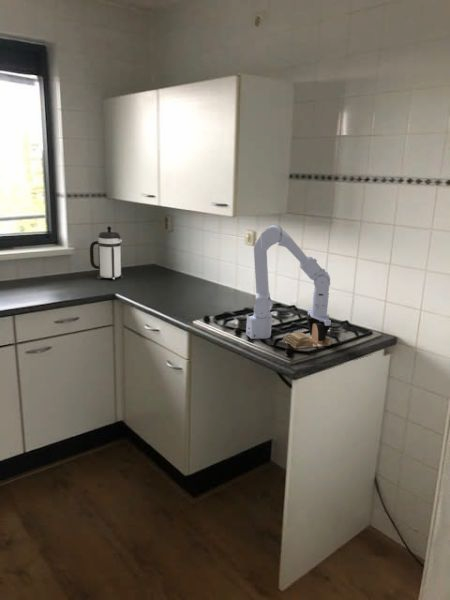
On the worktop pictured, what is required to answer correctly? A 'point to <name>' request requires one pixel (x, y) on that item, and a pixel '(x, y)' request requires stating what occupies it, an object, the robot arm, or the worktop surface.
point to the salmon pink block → (315, 333)
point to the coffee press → (108, 254)
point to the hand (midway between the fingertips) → (316, 337)
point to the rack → (324, 343)
